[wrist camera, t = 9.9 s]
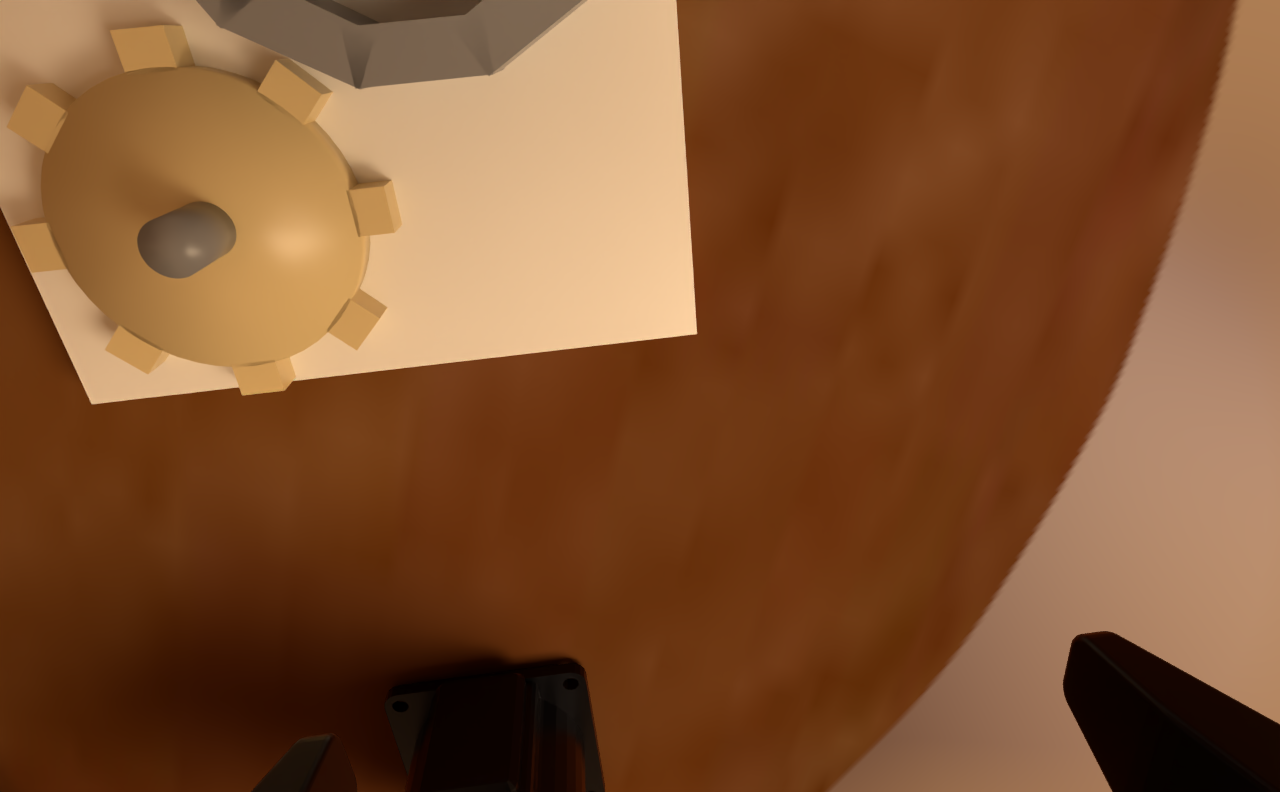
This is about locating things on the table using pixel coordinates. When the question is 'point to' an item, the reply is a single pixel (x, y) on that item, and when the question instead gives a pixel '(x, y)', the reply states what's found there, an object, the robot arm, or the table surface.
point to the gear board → (342, 183)
